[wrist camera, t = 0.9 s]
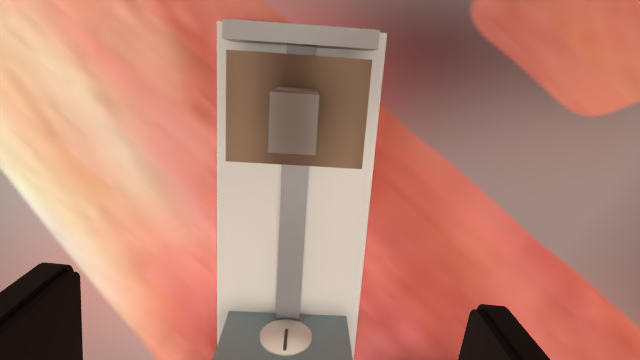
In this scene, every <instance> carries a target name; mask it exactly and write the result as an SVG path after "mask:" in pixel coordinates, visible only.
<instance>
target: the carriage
mask: <svg viewBox="0 0 640 360" xmlns="http://www.w3.org/2000/svg"><path fill="white" fill-rule="evenodd" d="M371 69H372V60H369V59H355V58H341V57H326V56H312V55H297V54H283V53H268V52H254V51H240V50H226V161H229V162H246V163H264V164H281V165H298V166H315V167H332V168H349V169H362V163H363V153H364V142H365V132H366V121H367V111H368V100H369V90H370V79H371Z"/></svg>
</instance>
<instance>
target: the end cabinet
mask: <svg viewBox="0 0 640 360" xmlns="http://www.w3.org/2000/svg"><path fill="white" fill-rule="evenodd" d="M275 316H276V313H265V312H242V311H229V312H228V315H227V318H226V321H225V324H224V327H223V330H222V333H221V336H220V339H219V342H218V345H217V348H216V351H215V354H214V357H213V360H353V357H352V350H351V344H350V337H349V330H348V323H347V317H346V316H334V315H311V314H300V321H295V320H288V319H284V320H275Z"/></svg>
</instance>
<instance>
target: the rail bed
mask: <svg viewBox="0 0 640 360" xmlns="http://www.w3.org/2000/svg"><path fill="white" fill-rule="evenodd" d="M386 39H387V33H380V30H377V29H362V28H349V27H335V26H334V27H333V26H320V25H307V24H294V23H280V22H266V21H252V20H238V19H225V18H222V21H217V345H218V342H219V339H220V336H221V333H222V330H223V327H224V324H225V321H226V318H227V315H228V312H229V311H242V312H265V313H276V316H275V320H284V319H288V320H295V321H300V314H311V315H334V316H346V317H347V323H348V330H349V337H350V344H351V350H352V357H353V360H354V351H355V341H356V331H357V322H358V312H359V302H360V292H361V283H362V273H363V263H364V253H365V244H366V234H367V224H368V214H369V205H370V195H371V185H372V176H373V166H374V156H375V146H376V137H377V127H378V117H379V107H380V98H381V88H382V78H383V67H384V59H385V49H386ZM226 50H240V51H254V52H268V53H283V54H297V55H312V56H326V57H341V58H355V59H369V60H372V69H371V79H370V90H369V100H368V111H367V121H366V132H365V142H364V153H363V163H362V169H349V168H332V167H315V166H298V165H281V164H264V163H246V162H229V161H226Z"/></svg>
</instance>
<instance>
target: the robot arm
mask: <svg viewBox="0 0 640 360" xmlns="http://www.w3.org/2000/svg"><path fill="white" fill-rule="evenodd" d="M82 354H83V352H82V321H81V290H80V275H79V273H77V272H74V271H73V268H72V267H71V266H70V265H64V264H54V263H41V264H39V265H37V266H36V267H35V268H33V269H32V270H31V271H29V272H28V273H26V274H25V275H23V276H22V277H21V278H19V279H18V280H17V281H15V282H14V283H13V284H11V285H10V286H8V287H7V288H6V289H4V290H3V291H2V292H0V360H83V355H82ZM458 360H550V359H549V358H548V356H547V355H546V354H545V353H544V352H543V350H542V349H541V348H540V347H539V346H538V344H537V343H536V342H535V341H534V340H533V338H532V337H531V336H530V335H529V334H528V332H527V331H526V330H525V329H524V328H523V327H522V325H521V324H520V323H519V322H518V321H517V319H516V318H515V317H514V316H513V315H512V313H511V312H510V311H509V310H508V309H507V308H506V307H504V306H495V305H485V304H481V305H479V306H478V308H477V310H472V311H471V312H470V315H469V319H468V323H467V327H466V331H465V335H464V339H463V343H462V347H461V351H460V355H459V359H458Z"/></svg>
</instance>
